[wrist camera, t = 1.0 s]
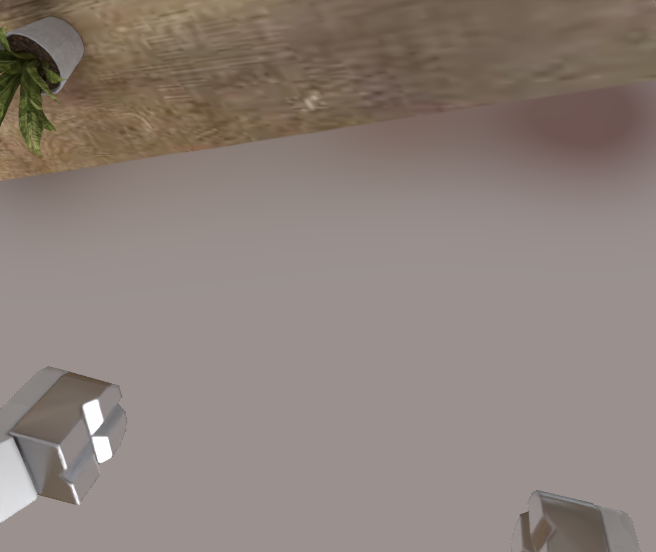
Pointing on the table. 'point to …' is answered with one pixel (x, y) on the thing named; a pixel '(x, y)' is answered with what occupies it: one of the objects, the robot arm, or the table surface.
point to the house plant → (36, 70)
